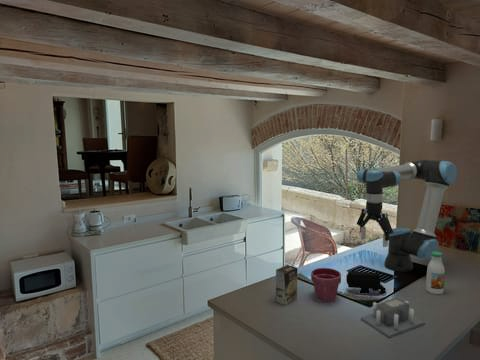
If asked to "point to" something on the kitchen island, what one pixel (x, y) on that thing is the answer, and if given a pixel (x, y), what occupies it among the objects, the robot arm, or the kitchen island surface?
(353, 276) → the security camera
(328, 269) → the plant pot
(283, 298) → the coffee box
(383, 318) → the grey block
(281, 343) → the kitchen island surface
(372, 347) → the kitchen island surface
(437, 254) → the milk bottle
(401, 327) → the tray
